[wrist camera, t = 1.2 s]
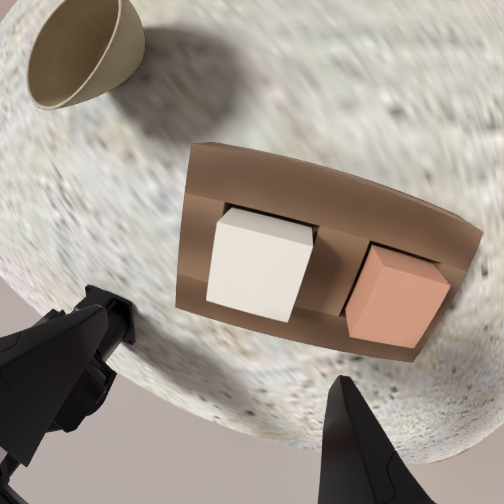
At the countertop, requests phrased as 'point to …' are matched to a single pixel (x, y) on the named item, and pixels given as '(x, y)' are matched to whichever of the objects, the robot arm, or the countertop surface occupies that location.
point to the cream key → (258, 263)
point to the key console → (314, 240)
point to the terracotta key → (394, 298)
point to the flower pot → (84, 52)
